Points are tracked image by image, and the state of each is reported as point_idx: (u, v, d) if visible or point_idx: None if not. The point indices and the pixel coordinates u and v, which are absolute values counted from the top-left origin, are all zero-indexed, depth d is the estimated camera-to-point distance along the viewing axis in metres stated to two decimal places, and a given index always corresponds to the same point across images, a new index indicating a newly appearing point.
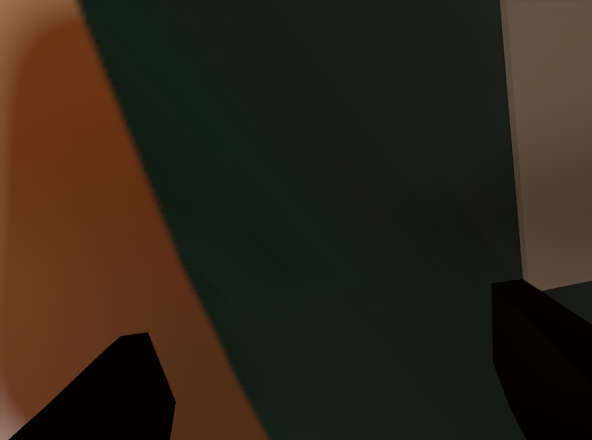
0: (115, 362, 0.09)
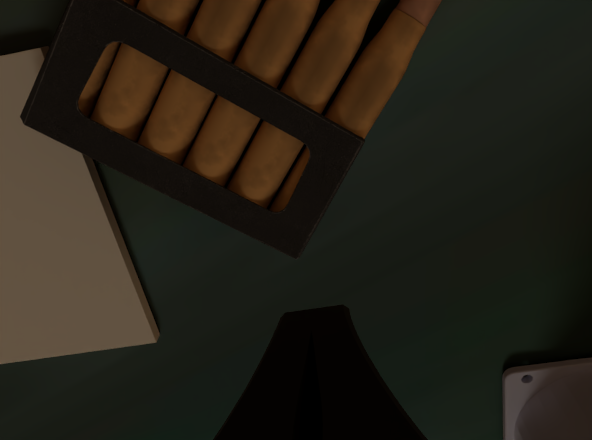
0: (299, 336, 0.09)
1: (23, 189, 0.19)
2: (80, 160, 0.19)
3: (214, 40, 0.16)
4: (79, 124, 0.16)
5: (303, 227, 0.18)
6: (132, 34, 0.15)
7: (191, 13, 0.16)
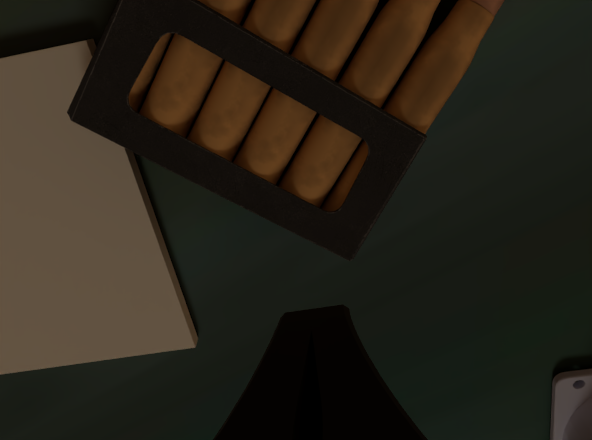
0: (299, 336, 0.09)
1: (63, 188, 0.19)
2: (124, 159, 0.18)
3: (273, 31, 0.15)
4: (129, 120, 0.16)
5: (358, 227, 0.17)
6: (188, 25, 0.15)
7: (248, 3, 0.15)
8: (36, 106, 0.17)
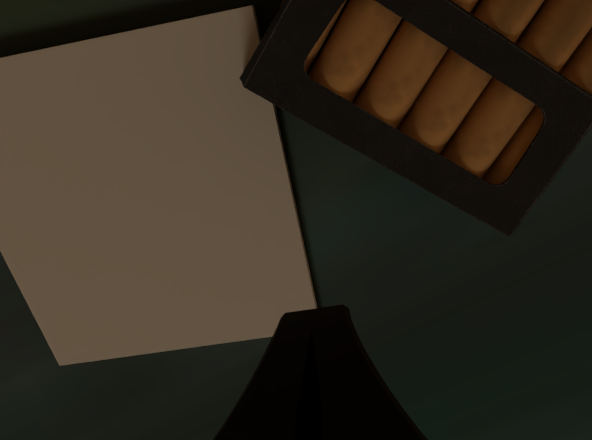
0: (299, 336, 0.09)
1: (206, 163, 0.18)
2: (274, 131, 0.17)
3: None
4: (303, 87, 0.15)
5: (523, 201, 0.17)
6: None
7: None
8: (190, 76, 0.17)
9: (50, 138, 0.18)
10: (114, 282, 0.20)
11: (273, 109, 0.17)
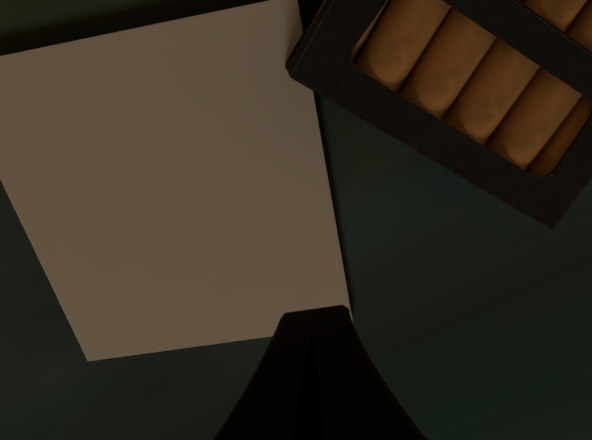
0: (299, 336, 0.09)
1: (244, 155, 0.18)
2: (314, 123, 0.17)
3: None
4: (350, 77, 0.15)
5: (567, 194, 0.17)
6: None
7: None
8: (231, 67, 0.16)
9: (86, 130, 0.18)
10: (146, 276, 0.20)
11: (314, 101, 0.17)
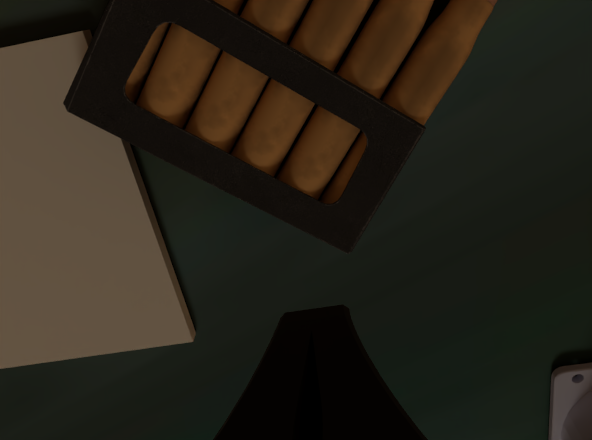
0: (299, 336, 0.09)
1: (59, 181, 0.18)
2: (120, 151, 0.18)
3: (271, 21, 0.15)
4: (126, 111, 0.16)
5: (357, 220, 0.17)
6: (185, 14, 0.14)
7: None
8: (32, 98, 0.17)
9: None
10: None
11: None
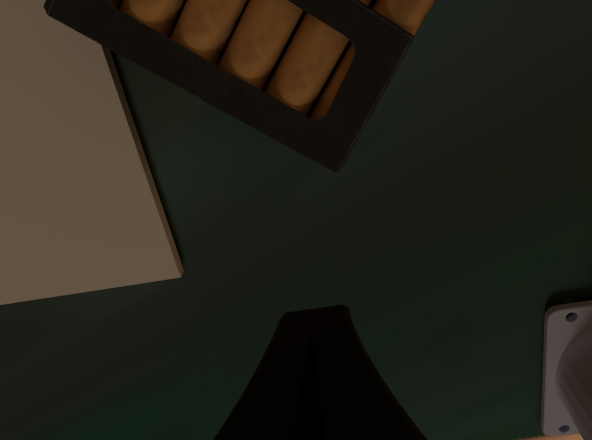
0: (299, 336, 0.09)
1: (42, 102, 0.18)
2: (105, 69, 0.18)
3: None
4: (107, 15, 0.15)
5: (345, 136, 0.17)
6: None
7: None
8: (14, 11, 0.17)
9: None
10: None
11: (101, 46, 0.17)
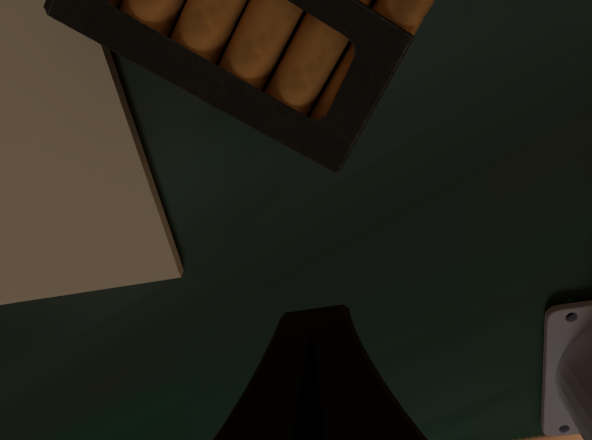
0: (299, 336, 0.09)
1: (42, 102, 0.18)
2: (105, 69, 0.18)
3: None
4: (107, 15, 0.15)
5: (345, 136, 0.17)
6: None
7: None
8: (14, 11, 0.17)
9: None
10: None
11: (101, 46, 0.17)
